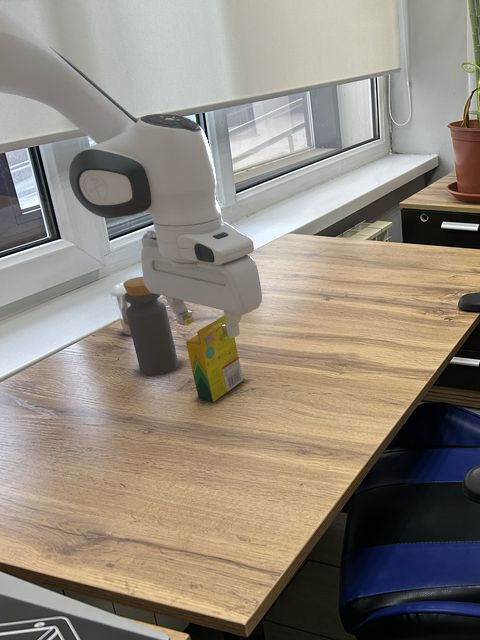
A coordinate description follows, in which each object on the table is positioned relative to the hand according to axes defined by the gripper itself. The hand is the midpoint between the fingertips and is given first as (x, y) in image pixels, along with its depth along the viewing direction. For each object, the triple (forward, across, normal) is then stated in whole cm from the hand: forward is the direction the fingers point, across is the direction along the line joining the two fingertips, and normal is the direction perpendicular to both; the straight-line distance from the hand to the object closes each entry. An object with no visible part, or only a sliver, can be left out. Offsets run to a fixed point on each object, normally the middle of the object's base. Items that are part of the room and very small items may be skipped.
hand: (208, 329), depth 103 cm
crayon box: (+10, 0, 0) cm, 10 cm away
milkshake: (+11, -31, +9) cm, 34 cm away
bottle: (+11, -15, +1) cm, 18 cm away
